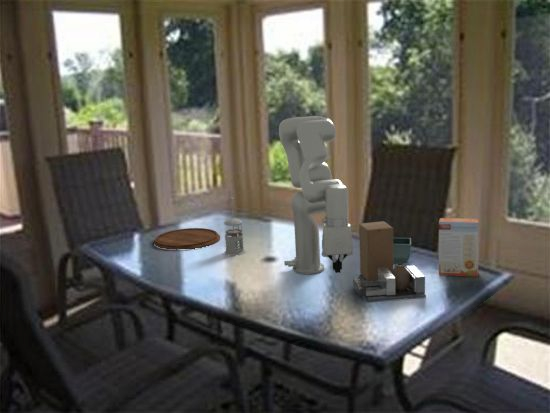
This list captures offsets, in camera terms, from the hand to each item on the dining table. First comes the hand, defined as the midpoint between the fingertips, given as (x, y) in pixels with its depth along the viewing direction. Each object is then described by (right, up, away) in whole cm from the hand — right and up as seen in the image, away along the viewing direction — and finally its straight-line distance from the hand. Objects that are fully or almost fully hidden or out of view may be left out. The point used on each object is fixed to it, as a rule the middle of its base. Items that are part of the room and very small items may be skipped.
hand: (337, 271), depth 211 cm
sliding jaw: (+13, -7, +1) cm, 14 cm away
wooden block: (+17, -4, +19) cm, 25 cm away
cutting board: (-64, +5, +80) cm, 103 cm away
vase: (+22, -6, +2) cm, 23 cm away
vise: (+19, -8, +2) cm, 21 cm away
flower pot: (+28, 0, +33) cm, 44 cm away
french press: (-39, +2, +59) cm, 70 cm away
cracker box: (+47, -3, +17) cm, 50 cm away
